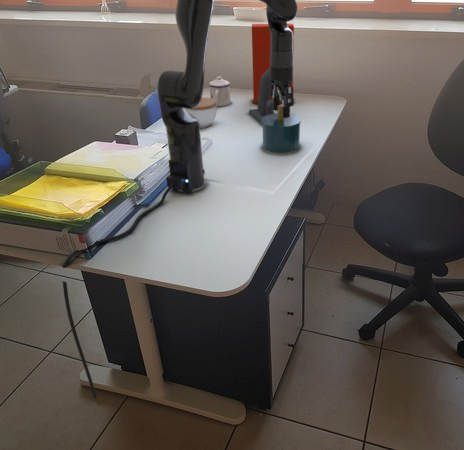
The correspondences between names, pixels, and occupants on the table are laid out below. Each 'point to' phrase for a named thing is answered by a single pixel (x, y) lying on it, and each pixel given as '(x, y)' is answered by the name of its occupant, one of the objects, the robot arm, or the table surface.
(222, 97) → the teacup with lid
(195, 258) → the table surface
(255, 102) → the file binder
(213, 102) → the lidded bowl
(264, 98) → the faucet
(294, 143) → the tin
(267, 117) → the tin lid
